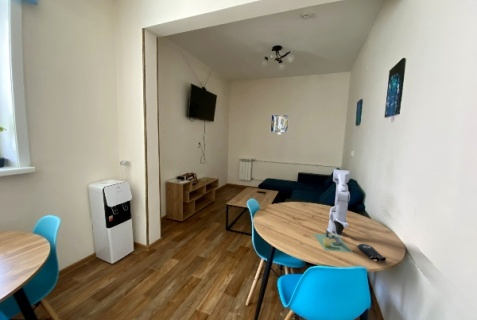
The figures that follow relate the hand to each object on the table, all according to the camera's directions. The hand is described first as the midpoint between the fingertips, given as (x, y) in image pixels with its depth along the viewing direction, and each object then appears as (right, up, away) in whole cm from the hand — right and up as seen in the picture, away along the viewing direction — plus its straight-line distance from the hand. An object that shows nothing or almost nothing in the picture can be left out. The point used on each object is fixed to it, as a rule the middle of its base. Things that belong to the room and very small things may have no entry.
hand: (338, 234), depth 118 cm
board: (-2, -8, +4) cm, 9 cm away
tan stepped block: (-6, -7, -1) cm, 9 cm away
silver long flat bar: (0, -3, +5) cm, 5 cm away
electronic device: (+15, -10, -4) cm, 19 cm away
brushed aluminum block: (0, -7, +4) cm, 8 cm away
